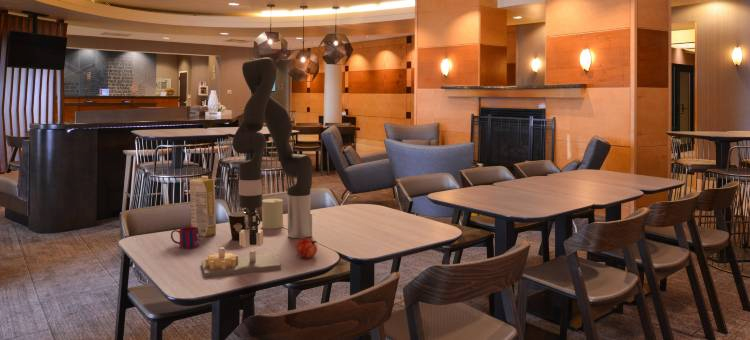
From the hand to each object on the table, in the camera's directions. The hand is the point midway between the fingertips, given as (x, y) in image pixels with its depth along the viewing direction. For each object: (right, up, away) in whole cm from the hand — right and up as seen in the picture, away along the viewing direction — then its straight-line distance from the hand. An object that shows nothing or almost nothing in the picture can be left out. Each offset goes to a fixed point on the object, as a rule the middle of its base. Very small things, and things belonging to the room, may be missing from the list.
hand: (251, 242), depth 185 cm
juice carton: (-29, -2, +42) cm, 51 cm away
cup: (-30, -5, +24) cm, 39 cm away
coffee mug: (-11, -4, +35) cm, 37 cm away
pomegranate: (+17, -7, +11) cm, 21 cm away
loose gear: (0, -1, 0) cm, 1 cm away
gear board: (-3, -8, 0) cm, 9 cm away
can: (-3, -1, +56) cm, 56 cm away
